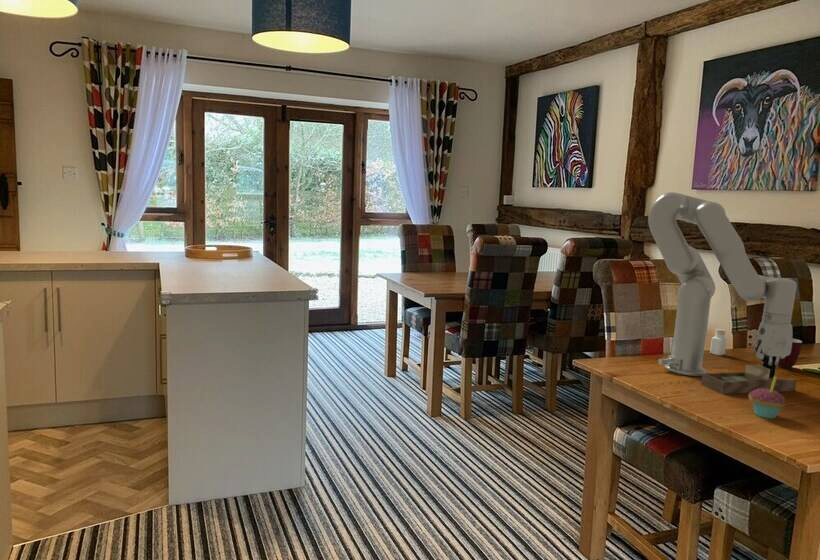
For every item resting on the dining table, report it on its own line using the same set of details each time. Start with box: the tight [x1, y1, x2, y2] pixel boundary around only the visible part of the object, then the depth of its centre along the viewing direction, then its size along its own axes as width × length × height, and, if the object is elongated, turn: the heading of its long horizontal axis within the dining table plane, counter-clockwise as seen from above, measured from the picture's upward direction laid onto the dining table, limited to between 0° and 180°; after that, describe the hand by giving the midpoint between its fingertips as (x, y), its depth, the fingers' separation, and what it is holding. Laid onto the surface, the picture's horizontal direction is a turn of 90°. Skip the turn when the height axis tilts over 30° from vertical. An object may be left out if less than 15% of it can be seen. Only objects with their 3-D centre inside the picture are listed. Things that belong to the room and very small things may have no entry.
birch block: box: [744, 364, 770, 380], centre depth 183 cm, size 4×4×4 cm
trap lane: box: [700, 371, 797, 395], centre depth 183 cm, size 28×9×4 cm, turn 106°
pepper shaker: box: [709, 328, 728, 357], centre depth 222 cm, size 4×4×10 cm
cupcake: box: [747, 374, 786, 419], centre depth 158 cm, size 9×8×12 cm
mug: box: [777, 337, 803, 370], centre depth 208 cm, size 10×8×10 cm
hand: (767, 376), depth 184 cm, fingers closed
